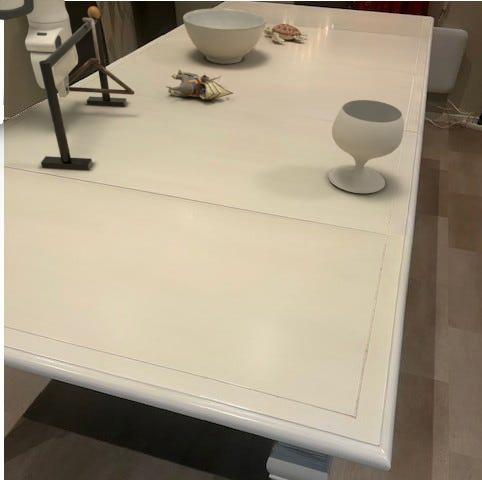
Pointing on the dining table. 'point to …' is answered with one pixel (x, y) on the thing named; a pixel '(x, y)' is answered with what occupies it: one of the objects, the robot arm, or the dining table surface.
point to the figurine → (197, 86)
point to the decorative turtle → (284, 33)
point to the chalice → (365, 142)
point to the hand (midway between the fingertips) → (64, 95)
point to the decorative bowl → (224, 32)
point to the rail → (54, 106)
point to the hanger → (97, 63)
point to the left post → (105, 98)
